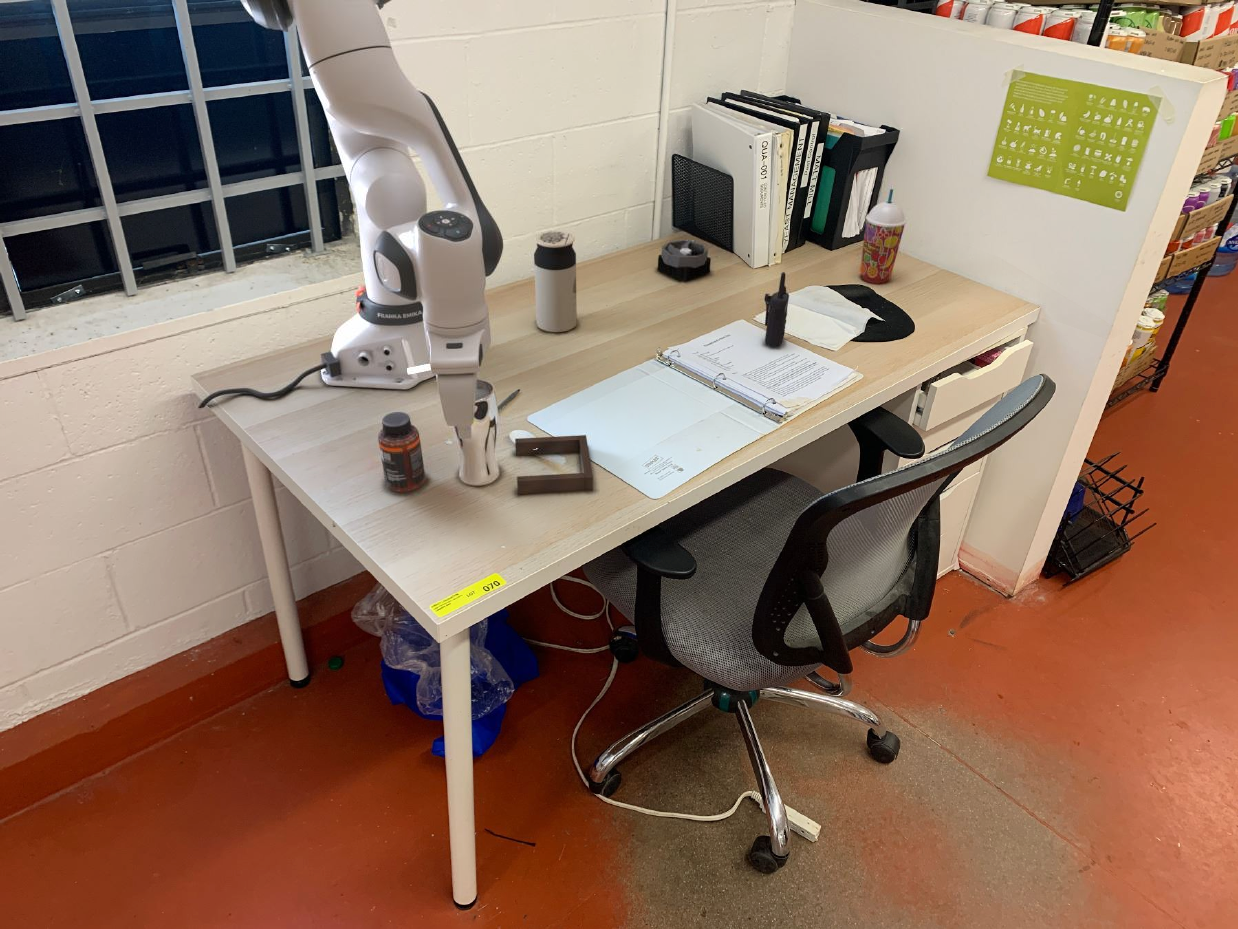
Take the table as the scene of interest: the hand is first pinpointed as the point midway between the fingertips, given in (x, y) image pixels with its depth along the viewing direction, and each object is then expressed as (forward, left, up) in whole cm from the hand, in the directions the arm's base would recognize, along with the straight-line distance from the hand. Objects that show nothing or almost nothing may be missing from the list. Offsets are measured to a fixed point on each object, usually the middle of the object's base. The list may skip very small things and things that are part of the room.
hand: (467, 418), depth 133 cm
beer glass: (+1, 0, -11) cm, 11 cm away
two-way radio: (+57, +39, -11) cm, 70 cm away
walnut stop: (+12, 0, -10) cm, 16 cm away
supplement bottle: (-10, -1, -11) cm, 15 cm away
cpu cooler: (+46, +74, -11) cm, 88 cm away
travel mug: (+16, +50, -11) cm, 54 cm away
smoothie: (+88, +67, -11) cm, 111 cm away
